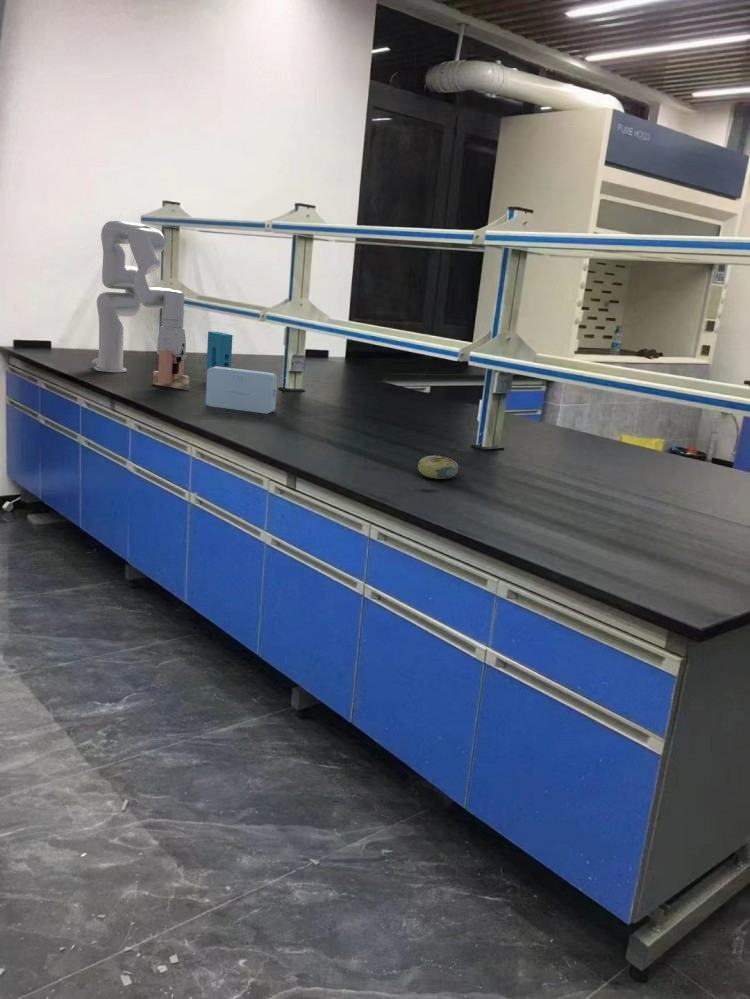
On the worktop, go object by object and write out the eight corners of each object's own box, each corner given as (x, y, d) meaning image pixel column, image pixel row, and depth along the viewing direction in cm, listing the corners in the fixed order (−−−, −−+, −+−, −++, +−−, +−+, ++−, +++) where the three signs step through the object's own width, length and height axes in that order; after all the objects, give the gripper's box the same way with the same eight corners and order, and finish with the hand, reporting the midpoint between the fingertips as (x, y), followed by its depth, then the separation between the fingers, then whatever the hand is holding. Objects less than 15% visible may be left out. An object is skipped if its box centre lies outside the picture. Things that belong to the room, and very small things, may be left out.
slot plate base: (153, 384, 327) (153, 371, 325) (155, 383, 328) (156, 370, 327) (186, 389, 322) (186, 376, 320) (188, 389, 323) (189, 376, 322)
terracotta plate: (158, 383, 320) (159, 351, 317) (176, 380, 331) (177, 349, 327) (164, 384, 319) (165, 352, 316) (183, 381, 330) (184, 350, 326)
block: (230, 385, 344) (233, 335, 339) (220, 385, 341) (222, 334, 336) (215, 380, 353) (218, 331, 348) (205, 380, 350) (207, 331, 344)
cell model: (414, 471, 215) (418, 441, 227) (418, 495, 219) (422, 464, 231) (455, 468, 213) (457, 437, 224) (458, 492, 217) (460, 461, 229)
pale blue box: (204, 406, 291) (206, 367, 288) (211, 404, 297) (212, 365, 293) (269, 414, 288) (272, 375, 284) (274, 412, 293) (277, 373, 290)
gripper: (148, 321, 318) (147, 370, 323) (185, 326, 313) (183, 376, 318) (160, 321, 325) (159, 369, 330) (197, 326, 320) (194, 375, 324)
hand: (171, 372), depth 324 cm, fingers closed on terracotta plate, 3 cm apart
